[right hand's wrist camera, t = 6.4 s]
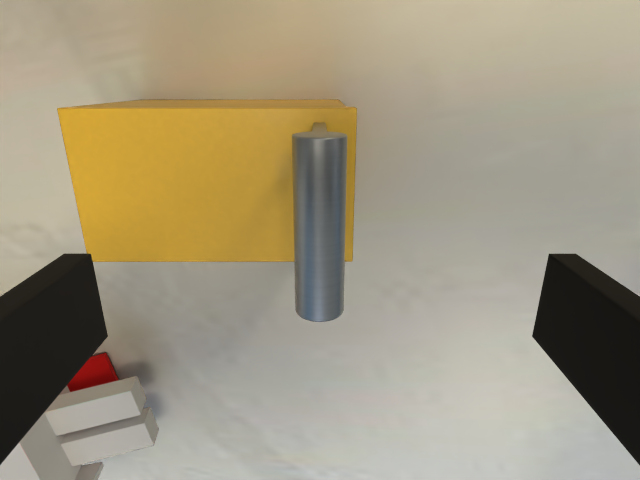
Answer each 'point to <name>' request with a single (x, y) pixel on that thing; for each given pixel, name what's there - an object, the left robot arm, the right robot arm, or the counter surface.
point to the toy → (84, 427)
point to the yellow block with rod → (220, 189)
